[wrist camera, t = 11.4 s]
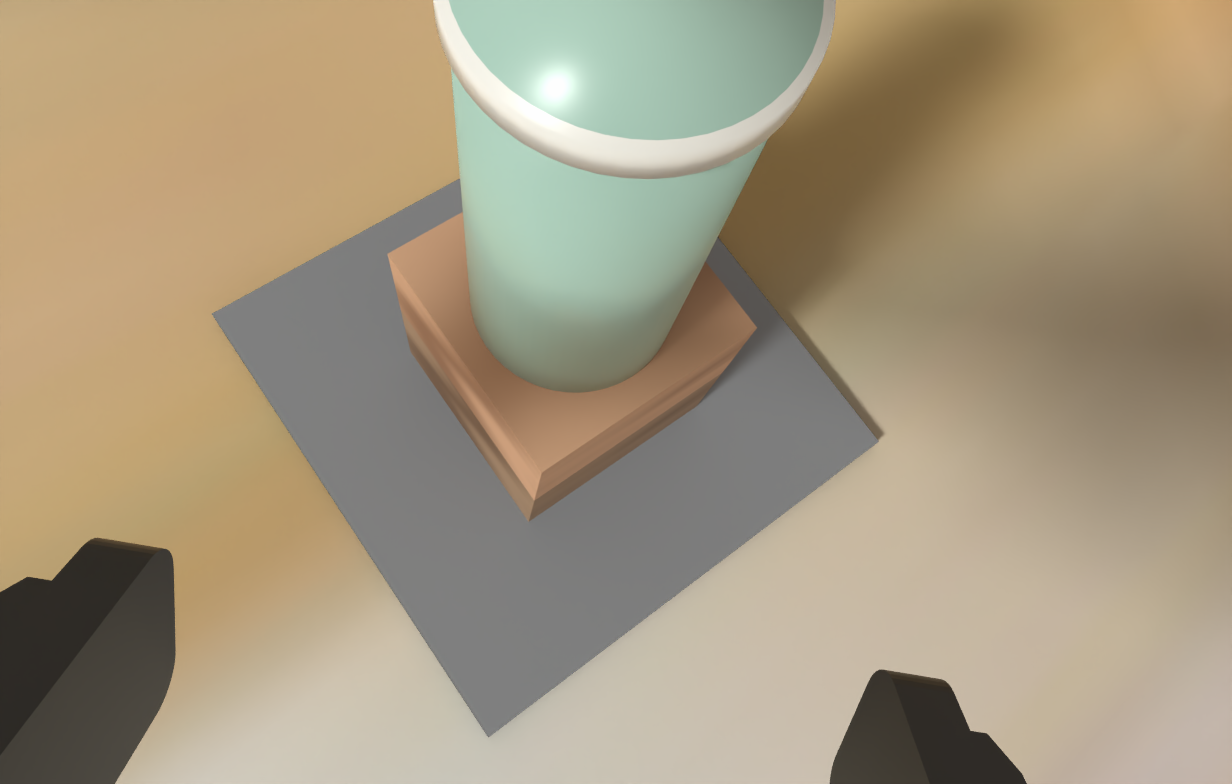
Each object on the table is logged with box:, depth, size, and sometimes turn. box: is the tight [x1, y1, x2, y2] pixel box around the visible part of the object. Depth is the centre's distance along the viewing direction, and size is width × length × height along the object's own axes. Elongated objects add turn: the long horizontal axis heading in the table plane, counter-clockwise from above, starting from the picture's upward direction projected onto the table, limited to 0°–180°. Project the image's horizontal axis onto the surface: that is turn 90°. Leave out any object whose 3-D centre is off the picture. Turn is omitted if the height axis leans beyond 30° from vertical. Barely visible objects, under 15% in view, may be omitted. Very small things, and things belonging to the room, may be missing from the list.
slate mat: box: [212, 179, 879, 737], centre depth 27 cm, size 14×14×1 cm
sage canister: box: [433, 0, 836, 393], centre depth 16 cm, size 5×5×10 cm
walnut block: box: [401, 311, 723, 522], centre depth 25 cm, size 6×6×3 cm
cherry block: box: [388, 212, 757, 501], centre depth 22 cm, size 6×6×3 cm
